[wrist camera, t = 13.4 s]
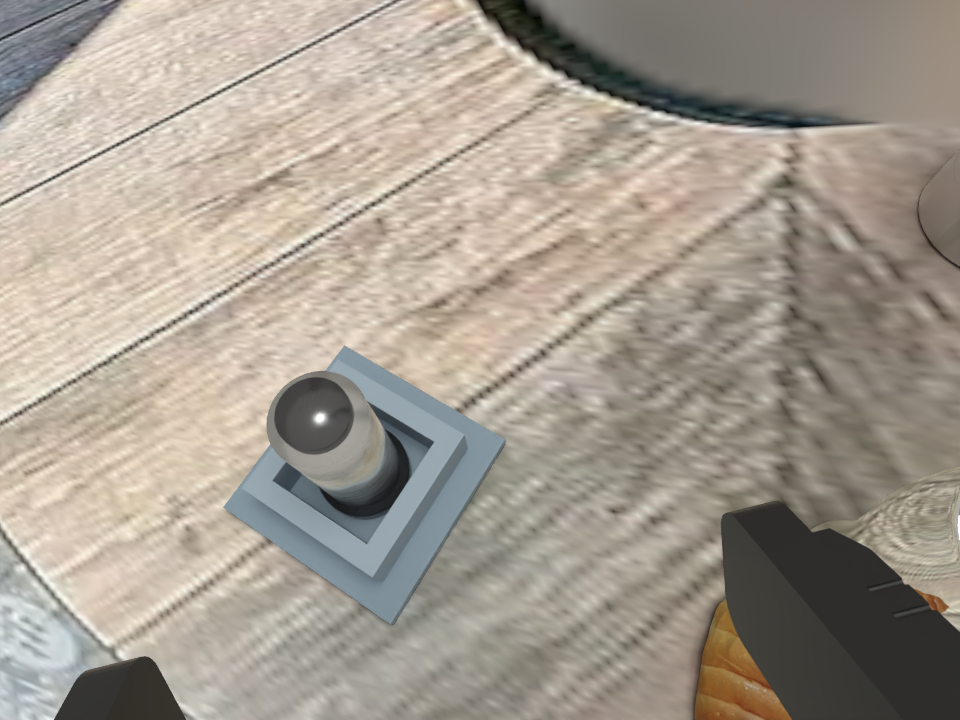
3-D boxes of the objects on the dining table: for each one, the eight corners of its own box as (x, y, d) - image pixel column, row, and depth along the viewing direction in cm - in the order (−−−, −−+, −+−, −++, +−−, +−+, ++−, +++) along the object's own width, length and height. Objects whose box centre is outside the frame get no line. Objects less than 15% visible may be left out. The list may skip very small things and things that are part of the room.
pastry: (782, 812, 32) (815, 835, 28) (656, 730, 33) (672, 742, 30) (848, 635, 35) (885, 635, 31) (729, 567, 36) (751, 561, 33)
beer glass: (807, 656, 34) (1006, 675, 20) (766, 523, 37) (917, 460, 23) (936, 635, 34) (1222, 641, 20) (886, 504, 37) (1108, 431, 23)
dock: (348, 351, 42) (332, 325, 39) (505, 443, 39) (504, 424, 36) (230, 510, 39) (200, 498, 35) (393, 624, 36) (379, 624, 32)
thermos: (356, 417, 39) (299, 336, 29) (428, 458, 38) (397, 390, 27) (306, 490, 38) (225, 435, 27) (379, 536, 37) (326, 497, 26)
